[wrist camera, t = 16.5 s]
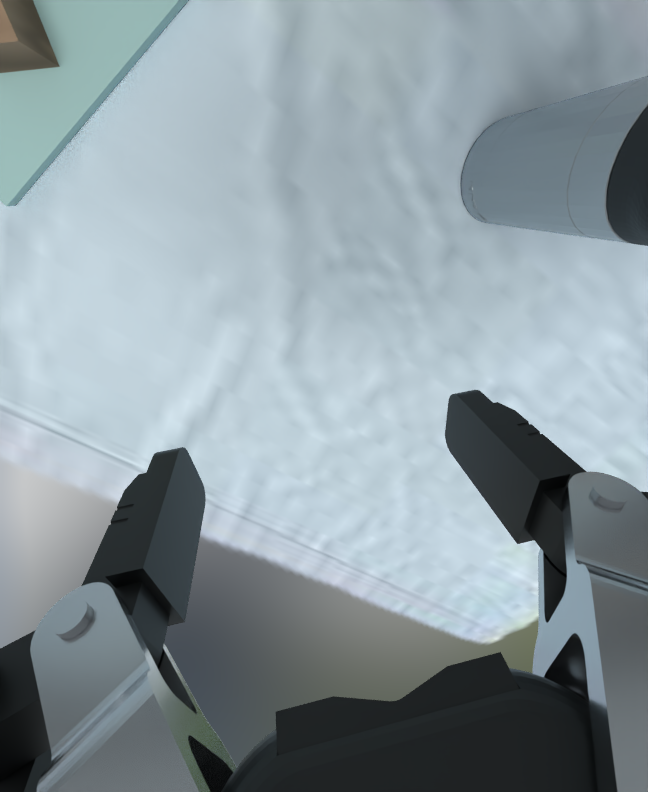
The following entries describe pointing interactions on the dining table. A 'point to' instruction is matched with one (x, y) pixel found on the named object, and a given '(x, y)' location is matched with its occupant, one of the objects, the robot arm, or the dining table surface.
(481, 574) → the dining table surface
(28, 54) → the brown tall square block
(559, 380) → the dining table surface
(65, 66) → the sage board
